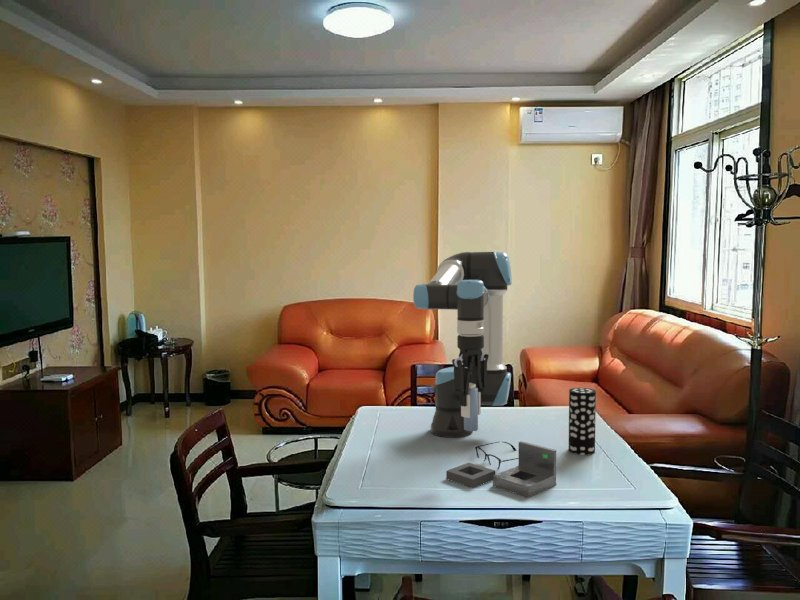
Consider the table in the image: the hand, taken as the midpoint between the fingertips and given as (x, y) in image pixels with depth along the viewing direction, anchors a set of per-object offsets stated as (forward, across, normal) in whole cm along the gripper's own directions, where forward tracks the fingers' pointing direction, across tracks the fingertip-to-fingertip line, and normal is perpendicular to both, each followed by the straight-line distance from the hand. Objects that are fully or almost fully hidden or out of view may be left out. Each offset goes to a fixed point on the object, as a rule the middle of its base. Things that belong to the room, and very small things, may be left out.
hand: (470, 415), depth 190 cm
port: (+19, +6, -14) cm, 24 cm away
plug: (+4, 0, 0) cm, 4 cm away
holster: (+19, 0, 0) cm, 19 cm away
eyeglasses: (+20, +21, +3) cm, 29 cm away
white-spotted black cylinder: (+19, +45, -9) cm, 49 cm away
